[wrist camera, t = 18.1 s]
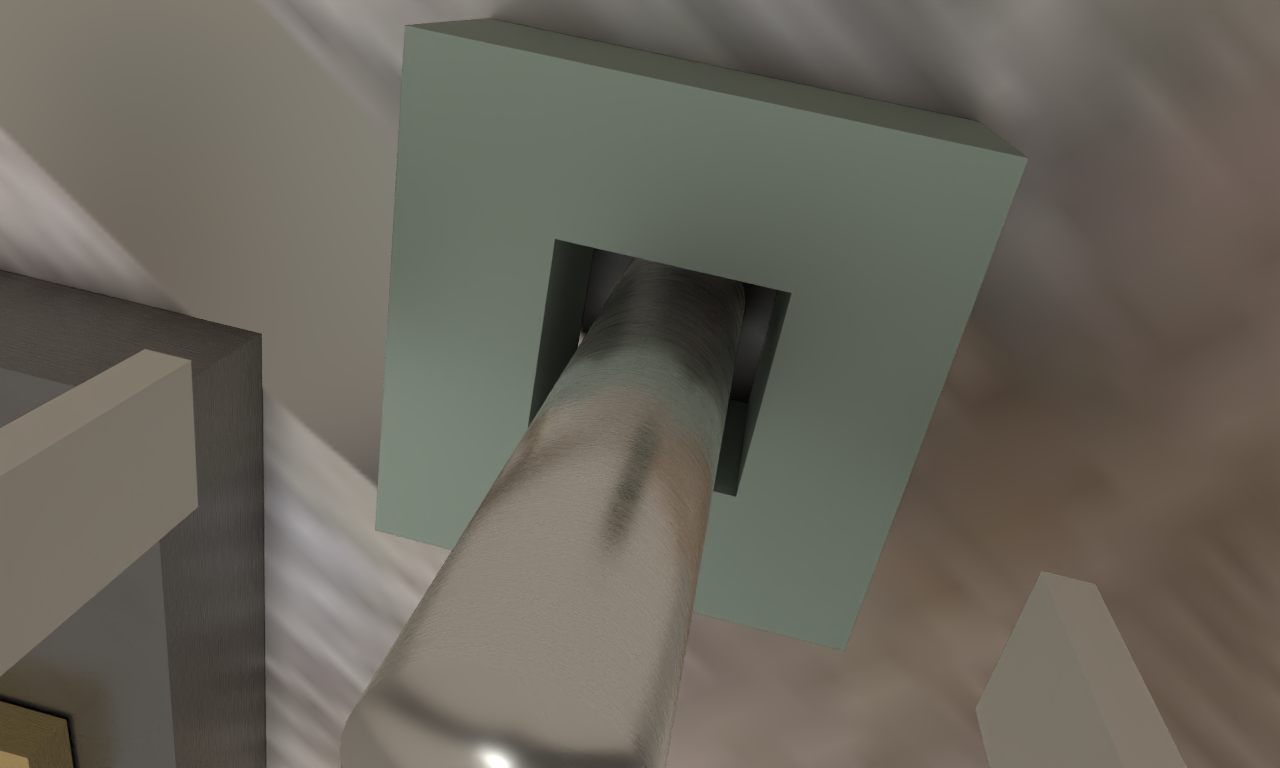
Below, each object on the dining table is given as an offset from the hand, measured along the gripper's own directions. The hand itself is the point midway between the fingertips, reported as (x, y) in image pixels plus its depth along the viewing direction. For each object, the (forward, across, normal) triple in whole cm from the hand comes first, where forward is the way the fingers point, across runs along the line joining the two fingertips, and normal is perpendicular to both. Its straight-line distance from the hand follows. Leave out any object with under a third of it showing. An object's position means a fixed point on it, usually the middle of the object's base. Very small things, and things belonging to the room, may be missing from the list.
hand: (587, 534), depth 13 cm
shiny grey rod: (+11, 0, 0) cm, 11 cm away
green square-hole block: (+11, 0, 0) cm, 11 cm away
